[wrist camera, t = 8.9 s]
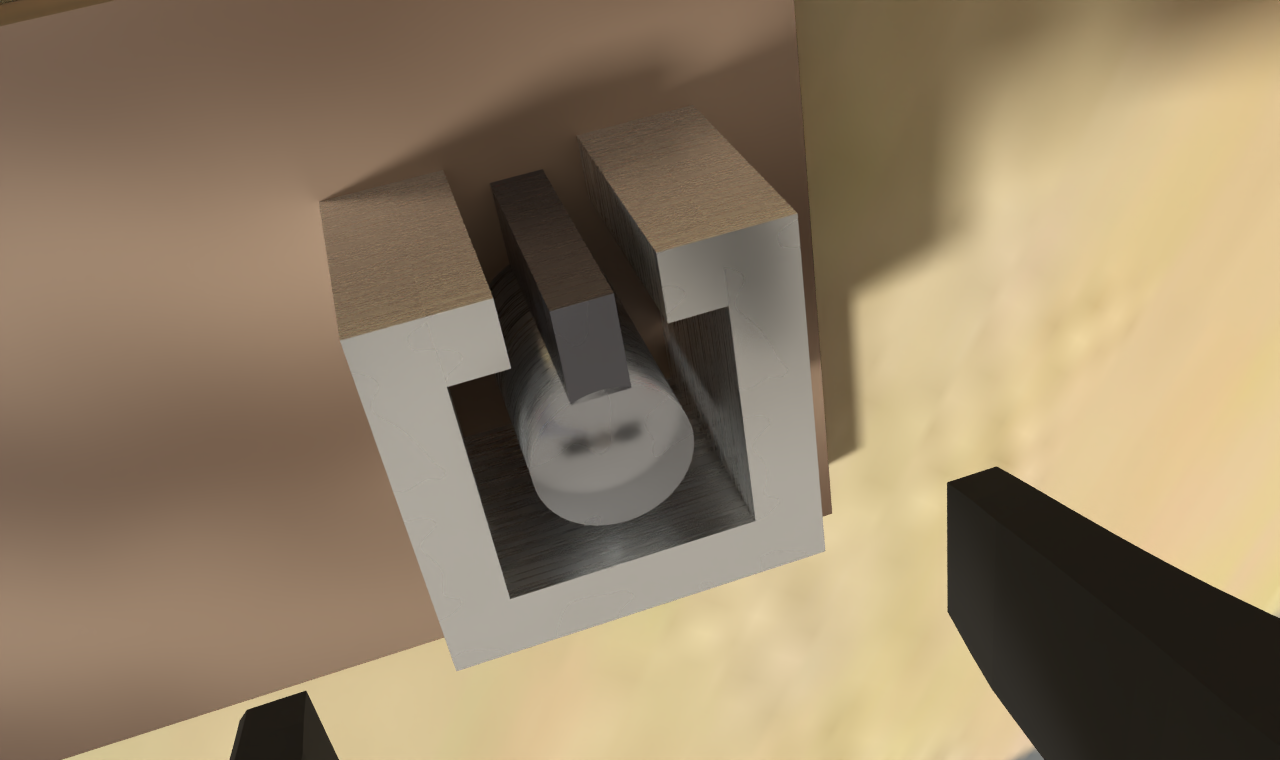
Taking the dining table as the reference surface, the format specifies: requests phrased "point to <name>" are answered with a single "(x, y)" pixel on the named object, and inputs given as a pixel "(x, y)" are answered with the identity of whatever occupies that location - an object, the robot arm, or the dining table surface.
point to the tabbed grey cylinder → (579, 370)
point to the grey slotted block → (700, 378)
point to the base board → (277, 310)
